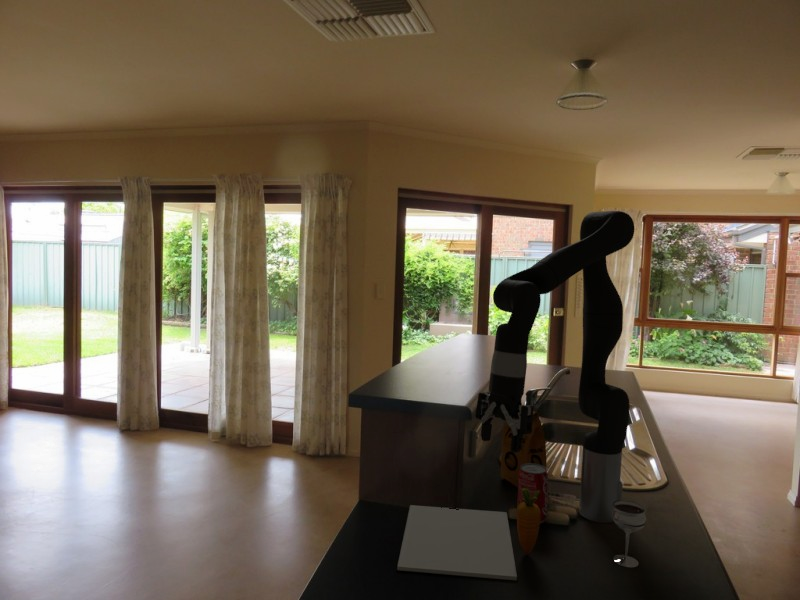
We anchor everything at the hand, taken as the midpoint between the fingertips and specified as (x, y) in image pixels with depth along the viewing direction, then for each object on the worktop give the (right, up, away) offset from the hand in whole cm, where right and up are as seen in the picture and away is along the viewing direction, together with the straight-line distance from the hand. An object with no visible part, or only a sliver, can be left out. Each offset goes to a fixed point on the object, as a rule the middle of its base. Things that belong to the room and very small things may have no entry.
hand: (499, 446), depth 124 cm
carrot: (+6, -24, -1) cm, 24 cm away
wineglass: (+27, -24, -2) cm, 36 cm away
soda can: (+10, -22, +16) cm, 29 cm away
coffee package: (+13, -20, +37) cm, 44 cm away
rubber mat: (-9, -23, +5) cm, 25 cm away
